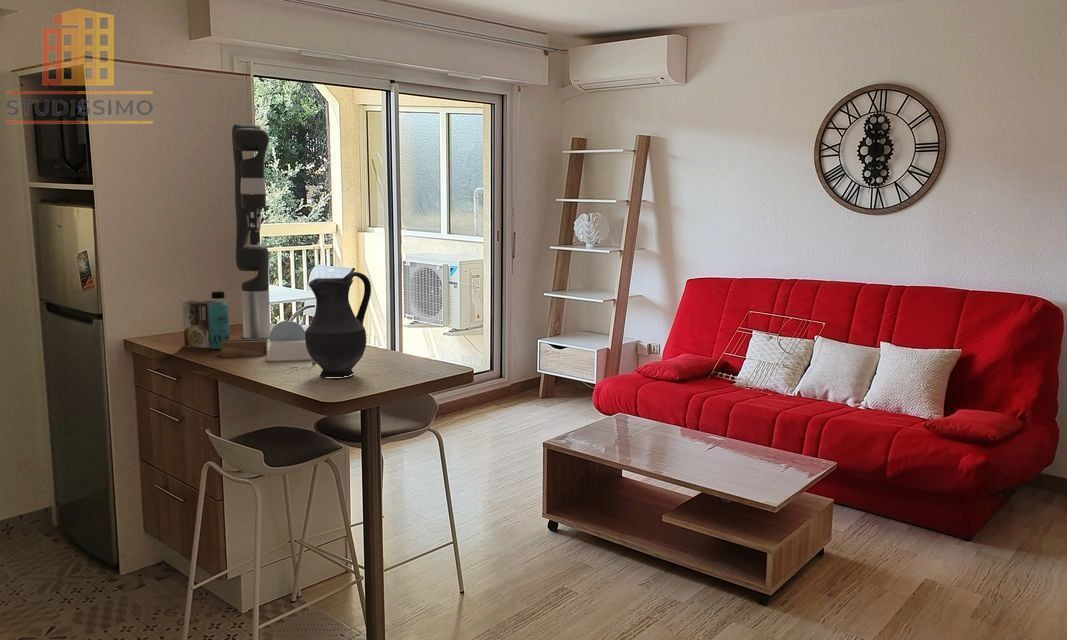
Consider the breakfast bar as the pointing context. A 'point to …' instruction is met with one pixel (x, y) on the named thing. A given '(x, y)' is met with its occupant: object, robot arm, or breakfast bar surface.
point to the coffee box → (196, 323)
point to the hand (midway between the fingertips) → (255, 243)
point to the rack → (288, 350)
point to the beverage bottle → (218, 321)
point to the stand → (244, 347)
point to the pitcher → (337, 326)
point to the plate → (287, 331)
